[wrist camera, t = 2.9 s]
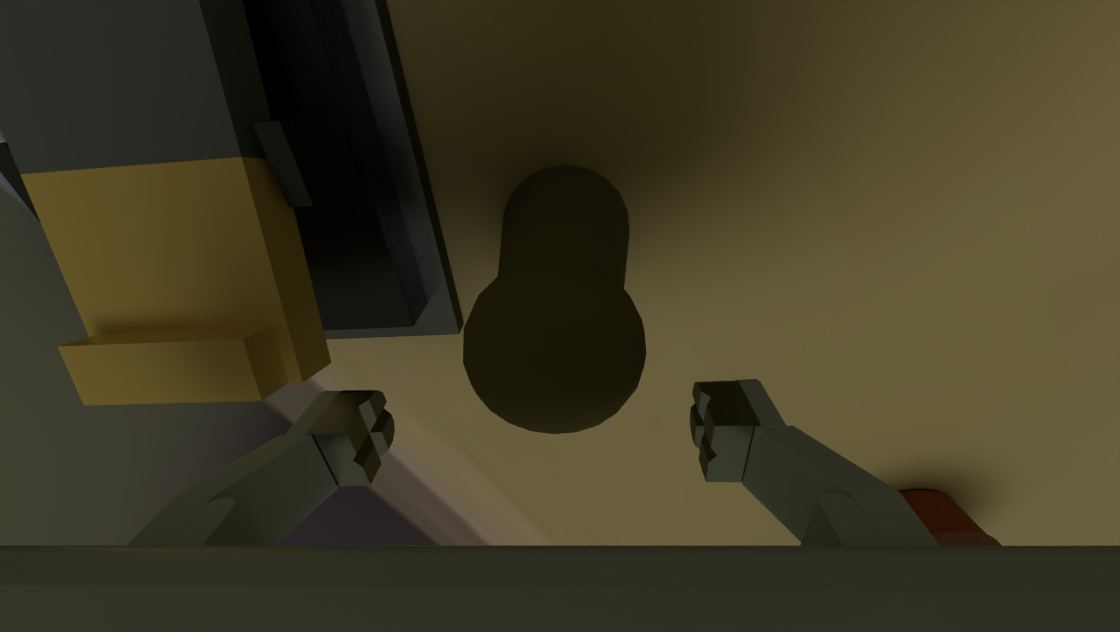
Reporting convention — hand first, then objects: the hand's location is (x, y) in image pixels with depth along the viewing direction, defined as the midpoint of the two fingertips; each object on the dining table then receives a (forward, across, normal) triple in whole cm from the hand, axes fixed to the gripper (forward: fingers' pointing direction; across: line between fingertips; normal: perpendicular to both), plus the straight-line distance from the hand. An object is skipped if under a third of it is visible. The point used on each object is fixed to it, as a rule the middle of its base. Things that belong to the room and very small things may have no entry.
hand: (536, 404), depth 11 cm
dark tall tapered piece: (+11, 0, -1) cm, 11 cm away
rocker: (+5, +12, -6) cm, 14 cm away
